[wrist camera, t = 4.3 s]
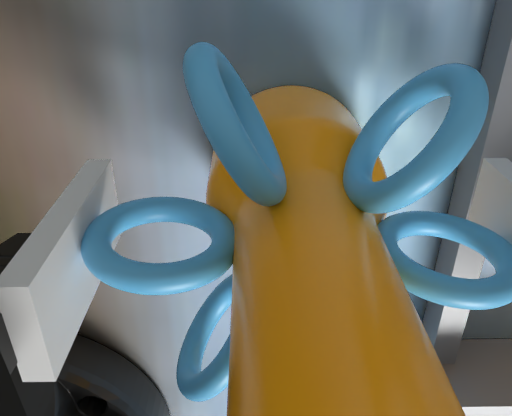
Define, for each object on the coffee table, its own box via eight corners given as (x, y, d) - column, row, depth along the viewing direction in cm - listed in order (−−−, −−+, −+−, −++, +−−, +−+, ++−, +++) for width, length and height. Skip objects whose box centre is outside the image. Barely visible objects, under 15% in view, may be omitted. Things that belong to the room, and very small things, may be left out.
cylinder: (474, 30, 17) (1325, 325, 4) (408, 269, 22) (657, 760, 9) (126, 3, 16) (-413, 243, 3) (140, 255, 21) (-37, 762, 8)
